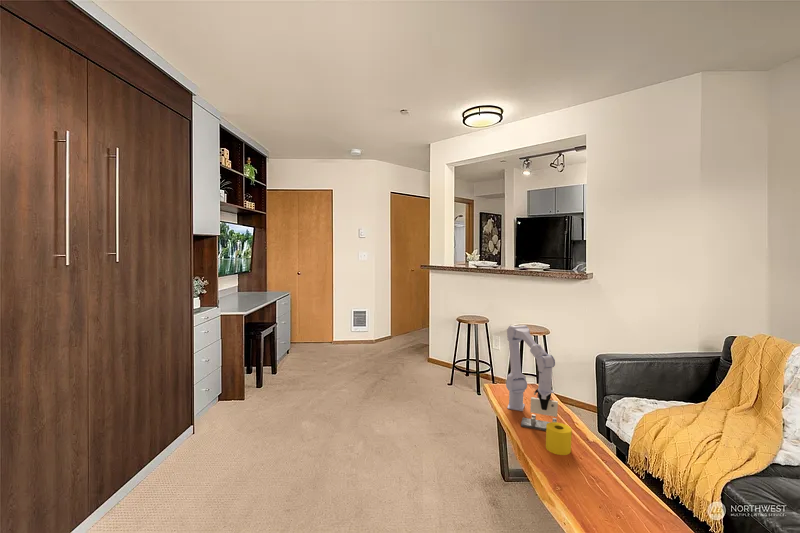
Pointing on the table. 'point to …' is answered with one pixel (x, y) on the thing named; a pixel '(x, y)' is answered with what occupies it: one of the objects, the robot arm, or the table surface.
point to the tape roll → (558, 438)
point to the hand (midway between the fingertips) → (544, 408)
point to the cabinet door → (550, 411)
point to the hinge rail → (535, 423)
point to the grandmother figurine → (536, 392)
